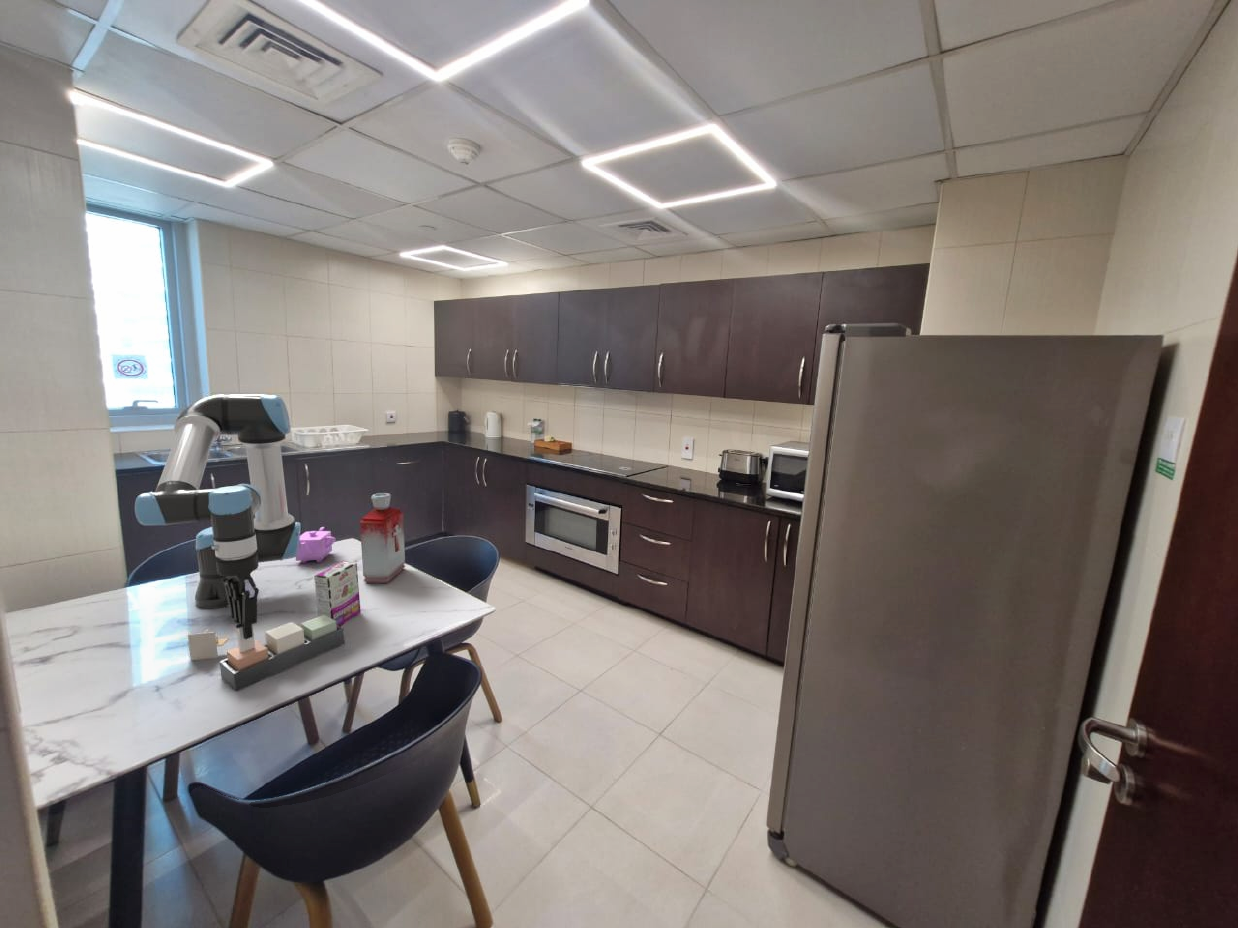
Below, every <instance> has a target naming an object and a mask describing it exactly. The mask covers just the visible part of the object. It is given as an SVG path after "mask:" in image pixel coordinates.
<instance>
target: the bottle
mask: <svg viewBox="0 0 1238 928" xmlns="http://www.w3.org/2000/svg"><path fill="white" fill-rule="evenodd" d="M391 497H392V494H391V493H387V492H377V493H375V494H372V495H371V497H370V498H371V502H372V505H373V509H372V510H371V511H369V512H368V513H367V514H366V515H365V516H363V517H362V519H361V520H360V521H359V527H360V528H359V529H360V530H359V531H360V547H361V560H362V561H361V564H362V575H363V577H364V578H363V582H365V583H367V584H368V583H369V584H385V585H386V584H388V583H389V582H390V581H391V580H392V579H393V578H394V577H395V576H396V575H398V574H399V573H400V572H401V571H403V569H405V568H406V565H405V563H406V555H405V554H406V553H405V552H406V551H405V531H404V530H405V528H404V527H405V526H404V512H403V511H402V510H401V509H400V508H396V507H390V502H391Z"/></svg>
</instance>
